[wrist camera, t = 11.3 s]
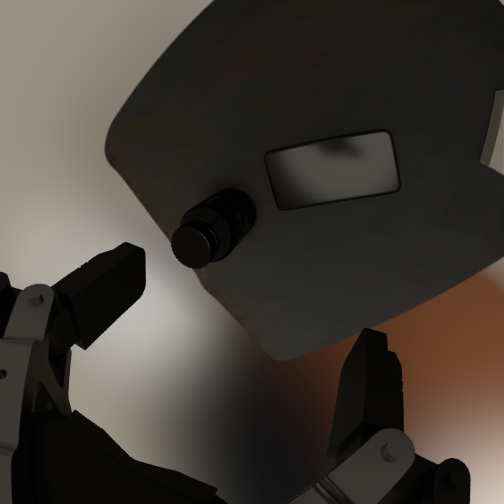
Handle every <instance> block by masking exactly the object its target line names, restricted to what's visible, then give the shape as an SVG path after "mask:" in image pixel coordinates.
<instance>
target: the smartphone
mask: <svg viewBox="0 0 504 504" xmlns="http://www.w3.org/2000/svg"><path fill="white" fill-rule="evenodd" d="M264 162H265V166H266V170H267V173H268V177H269V181H270V184H271V188H272V192H273V195H274V199H275V202H276V205H277V207H278V208H279V209H280V210H292V209H299V208H305V207H311V206H317V205H322V204H328V203H334V202H340V201H346V200H353V199H359V198H366V197H373V196H379V195H386V194H393V193H396V192H398V191H399V190H400V187H401V181H400V175H399V168H398V163H397V157H396V152H395V146H394V142H393V137H392V135H391V133H390V132H389V131H388V130H385V129H379V130H372V131H366V132H360V133H354V134H348V135H342V136H337V137H332V138H326V139H321V140H316V141H311V142H307V143H301V144H296V145H292V146H288V147H284V148H280V149H276V150H271V151H269V152H267V153H266V154H265V156H264Z"/></svg>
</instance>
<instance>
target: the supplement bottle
mask: <svg viewBox="0 0 504 504" xmlns="http://www.w3.org/2000/svg"><path fill="white" fill-rule="evenodd" d="M255 219H256V212H255V207H254V205H253V203H252V201H251V200H250V198H249V197H248V196H247V195H245V194H244V193H243V192H241V191H238V190H235V189H224V190H221V191H219V192H217V193H215V194H214V195H212V196H210V197H209V198H207V199H205V200H204V201H202V202H200V203H199V204H197V205H196V206H194V207H192V208H191V209H190V210H188V211H187V212H186V213H185V214H184V216H183V218H182V220H181V223H180V227H179V228H178V229H177V230H176V231H175V232H174V234H173V235H172V238H171V247H172V251H173V253H174V255H175V256H176V258H177V259H178V261H180V262H181V263H182V264H183V265H185V266H187V267H189V268H193V269H194V268H195V269H198V268H202V267H205V266H206V265H207V264H208V263H209V262H218V261H221V260H223V259H224V258H226V257H227V256H228V255H229V254H230V253H231V252H232V251H233V250H234V249H235V247H236V246H237V245H238V244H239V243H240V242H241V241H242V239H243V238H244V237H245V236H246V235H247V234H248V233H249V231H250V230H251V229H252V227H253V225H254V223H255Z"/></svg>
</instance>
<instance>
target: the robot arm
mask: <svg viewBox="0 0 504 504" xmlns="http://www.w3.org/2000/svg"><path fill="white" fill-rule="evenodd" d="M145 259H146V258H145V251H144V249H143V248H140V247H138V246H135V245H133V244H130V243H128V242H124V243H122V244H121V245H119V246H118V247H116V248H115V249H113V250H110V251H106V252H103V253H100V254H98V255H96V256H95V257H93V258H92V259H90V260H89V261H88V262H86V263H84V264H83V265H81V267H80V268H77V269H76V270H75V271H73V272H71V273H70V274H68V275H67V276H66V277H64V278H63V279H61V280H60V281H58V282H57V283H56V284H54V285H53V286H51V287H50V286H48V285H45V284H34V285H31V286H28V287H26V288H25V289H24V290H20V289H17V288H14V287H11V284H10V281H9V278H8V275H7V274H5V273H3V272H0V504H228V503H226V502H225V501H224V500H223V499H221V498H220V497H218V496H217V495H215V493H216V491H217V489H218V488H216V487H213V486H211V485H208V484H206V483H203V482H201V481H198V480H196V479H194V478H191V477H189V476H187V475H185V474H182V473H180V472H178V471H174V470H170V469H165V468H162V467H158V466H154V465H151V464H147V463H144V462H140V461H137V460H135V459H133V458H131V457H130V456H129V455H128V454H127V453H126V452H125V451H124V450H123V449H122V448H121V447H120V446H119V445H118V444H117V443H116V442H115V441H114V440H113V439H112V438H111V437H110V436H109V435H108V434H107V433H106V432H105V430H103V429H102V428H100V427H99V426H97V425H96V424H95V423H93V422H92V421H90V420H89V419H87V418H86V417H85V416H83V415H82V414H80V413H79V412H78V411H77V410H74V411H73V412H72V411H71V406H70V402H69V396H68V390H69V376H70V365H71V364H70V363H71V355H72V351H71V347H72V346H73V345H74V344H76V345H78V346H79V347H81V348H82V349H84V350H86V349H87V348H88V347H89V346H90V345H91V344H92V343H93V342H94V341H95V340H96V339H97V338H98V337H99V336H100V335H101V334H102V333H104V331H106V330H107V328H109V327H110V326H111V325H112V324H113V323H114V322H115V321H116V320H117V319H118V318H119V317H120V316H121V315H122V314H123V313H124V312H125V311H127V310H128V308H129V307H131V306H132V305H133V304H134V303H135V302H136V301H137V300H138V299H139V298H140V297H141V296H142V294H143V292H144V290H145V286H146V266H145V265H146V263H145V262H146V261H145ZM401 380H402V368H401V364H400V362H399V359H398V357H397V355H396V353H395V352H391V351H388V345H387V335H386V334H385V333H382V332H378V331H375V330H372V329H369V328H364V329H363V330H362V332H361V334H360V336H359V337H358V340H357V341H356V342H355V344H354V346H353V348H352V349H351V351H350V353H349V354H348V356H347V358H346V360H345V362H344V364H343V367H342V370H341V374H340V381H339V388H338V394H337V401H336V406H335V412H334V418H333V423H332V429H331V434H330V439H329V444H328V449H327V453H326V457H330V458H335V459H336V463H335V468H334V469H333V470H331V471H330V472H329V473H327V474H326V475H325V476H323V477H322V478H321V479H319V480H318V481H316V482H315V483H314V484H312V485H311V486H309V487H308V488H307V489H306V490H304V491H302V492H301V493H299V494H298V495H296V496H295V497H293V498H292V499H290V500H289V501H287V502H285V503H284V504H470V481H471V479H470V473H469V470H468V468H467V466H466V465H465V464H464V463H463V462H462V461H460V460H458V459H455V458H450V459H446V460H444V461H443V462H441V463H440V464H436V463H434V462H431V461H429V460H427V459H425V458H423V457H421V456H419V455H417V454H416V453H415V448H414V445H413V443H412V441H411V440H410V438H409V437H408V436H407V435H406V434H405V433H404V412H403V411H404V408H403V391H402V389H403V383H402V381H401Z"/></svg>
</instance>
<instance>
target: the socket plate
mask: <svg viewBox="0 0 504 504" xmlns="http://www.w3.org/2000/svg"><path fill="white" fill-rule="evenodd" d="M480 162H481V163H482V164H484V165H486V166H488V167H490V168H491V169H493V170H495V171H497V172H498V173H500V174H502V175H503V176H504V90H498V91H496V93H495V99H494V104H493V110H492V114H491V119H490V124H489V128H488V132H487V136H486V140H485V144H484V148H483V151H482V155H481V158H480Z"/></svg>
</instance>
